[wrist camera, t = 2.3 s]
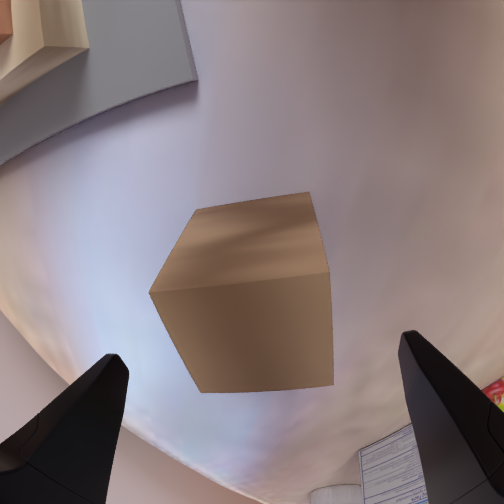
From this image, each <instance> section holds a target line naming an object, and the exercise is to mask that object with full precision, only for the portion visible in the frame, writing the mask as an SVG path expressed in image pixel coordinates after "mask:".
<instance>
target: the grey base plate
mask: <svg viewBox="0 0 504 504" xmlns="http://www.w3.org/2000/svg"><path fill="white" fill-rule="evenodd" d="M82 7H83V13H84V20H85V26H86V32H87V37H88V42H89V49H87V50H85V51H83V52H81V53H79V54H78V55H76V56H74V57H72V58H71V59H69V60H67V61H65V62H64V63H62V64H60V65H59V66H57V67H55V68H54V69H52V70H50V71H49V72H47V73H46V74H44V75H43V76H41V77H40V78H38V79H37V80H35V81H34V82H32V83H31V84H29V85H28V86H26V87H25V88H24V89H22V90H21V91H20V92H18V93H17V94H15V95H14V96H13V97H11V98H10V99H9V100H8V101H6V102H5V103H4V104H2V105H1V106H0V166H1V165H2V164H4V163H5V162H7V161H9V160H10V159H12V158H13V157H15V156H17V155H18V154H20V153H22V152H24V151H25V150H27V149H29V148H31V147H32V146H34V145H36V144H38V143H40V142H41V141H43V140H45V139H47V138H49V137H51V136H53V135H55V134H57V133H59V132H61V131H63V130H65V129H67V128H69V127H71V126H73V125H75V124H77V123H80V122H82V121H84V120H86V119H88V118H91V117H93V116H95V115H98V114H100V113H102V112H105V111H107V110H110V109H112V108H115V107H117V106H120V105H122V104H125V103H128V102H130V101H133V100H136V99H139V98H141V97H144V96H147V95H150V94H153V93H156V92H159V91H162V90H165V89H169V88H172V87H175V86H178V85H182V84H185V83H189V82H193V81H196V80H198V76H197V72H196V68H195V63H194V59H193V55H192V50H191V46H190V42H189V37H188V33H187V29H186V24H185V20H184V15H183V11H182V6H181V2H180V0H82Z"/></svg>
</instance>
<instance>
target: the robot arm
mask: <svg viewBox="0 0 504 504" xmlns="http://www.w3.org/2000/svg"><path fill="white" fill-rule="evenodd" d="M398 357H399V363H400V368H401V374H402V380H403V386H404V392H405V398H406V403H407V407H408V411H409V415H410V419H411V423H412V426H413V430H414V435H415V439H416V443H417V447H418V452H419V456H420V461H421V465H422V470H423V475H424V480H425V486H426V491H427V497H428V503H429V504H504V412H503V411H502V410H501V409H500V408H499V407H498V406H497V405H496V404H495V403H494V402H493V401H492V402H491V399H490V398H489V397H488V396H487V395H485V394H484V393H483V392H482V391H481V390H480V389H479V388H478V387H477V386H476V385H475V384H474V383H473V382H472V381H471V380H470V379H469V378H468V377H467V376H466V375H465V374H463V373H462V372H461V371H460V370H459V369H458V368H457V367H456V366H455V365H454V364H453V363H452V362H451V361H449V360H448V359H447V358H446V357H445V356H444V355H443V354H442V353H441V352H440V351H439V350H437V349H436V348H435V347H434V346H433V345H432V344H431V343H430V342H429V341H427V340H426V339H425V338H424V337H423V336H422V335H421V334H420V333H418V332H417V331H416V330H411V331H406V332H403V333H402V335H401V339H400V345H399V350H398ZM128 380H129V370H128V368H127V366H126V365H125V363H124V362H123V361H122V359H121V358H120V356H119V355H117V354H106V355H105V356H103V357H102V358H101V359H100V360H99V361H98V362H96V363H95V364H94V365H93V366H92V367H91V368H90V369H88V370H87V371H86V372H85V373H84V374H83V375H81V376H80V377H79V378H78V379H77V380H76V381H75V382H73V383H72V384H71V385H70V386H69V387H68V388H67V389H65V390H64V391H63V392H62V393H61V394H60V395H59V396H57V397H56V398H55V399H54V400H53V401H52V402H51V403H49V404H48V405H47V406H46V407H45V408H44V409H43V410H42V411H41V412H40V413H38V414H37V415H36V416H35V417H34V418H33V419H31V420H30V421H29V422H28V423H27V424H25V425H24V426H23V427H22V428H20V429H19V430H18V431H17V432H15V433H14V434H13V435H11V436H10V437H9V438H7V439H6V440H5V441H3V442H2V443H1V444H0V504H105V503H106V496H107V491H108V486H109V480H110V475H111V469H112V464H113V458H114V454H115V450H116V445H117V440H118V435H119V431H120V427H121V423H122V418H123V414H124V408H125V401H126V393H127V387H128Z"/></svg>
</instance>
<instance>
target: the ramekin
mask: <svg viewBox="0 0 504 504" xmlns="http://www.w3.org/2000/svg"><path fill="white" fill-rule="evenodd" d="M310 504H362V492H361V487H360V486H359V485H353V484H346V485H335V486H329V487H324V488H320V489H317V490H314V491H313V492H312V493H311V496H310Z"/></svg>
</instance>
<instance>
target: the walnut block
mask: <svg viewBox="0 0 504 504" xmlns="http://www.w3.org/2000/svg"><path fill="white" fill-rule="evenodd" d="M149 295H150V297H151V299H152V301H153V303H154V305H155V307H156V309H157V312H158V314H159V316H160V318H161V320H162V322H163V324H164V326H165V328H166V330H167V332H168V334H169V336H170V338H171V340H172V342H173V344H174V345H175V347H176V349H177V351H178V353H179V355H180V357H181V359H182V360H183V362H184V364H185V366H186V368H187V370H188V371H189V373H190V375H191V377H192V379H193V380H194V382H195V384H196V386H197V387H198V389H199V391H200V393H240V392H264V391H280V390H292V389H303V388H313V387H322V386H330V385H334V364H333V326H332V303H331V286H330V272H329V267H328V263H327V259H326V254H325V250H324V246H323V242H322V238H321V234H320V230H319V226H318V222H317V219H316V215H315V211H314V207H313V204H312V200H311V196H310V193H309V192H304V193H297V194H290V195H283V196H276V197H269V198H263V199H256V200H250V201H244V202H238V203H231V204H226V205H220V206H214V207H208V208H202V209H197V210H196V211H195V212H194V214H193V216H192V217H191V219H190V221H189V222H188V224H187V226H186V227H185V229H184V231H183V232H182V234H181V236H180V237H179V239H178V241H177V242H176V244H175V246H174V248H173V249H172V251H171V253H170V255H169V256H168V258H167V260H166V262H165V263H164V265H163V267H162V269H161V270H160V272H159V274H158V276H157V278H156V279H155V281H154V283H153V285H152V287H151V289H150V290H149Z"/></svg>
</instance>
